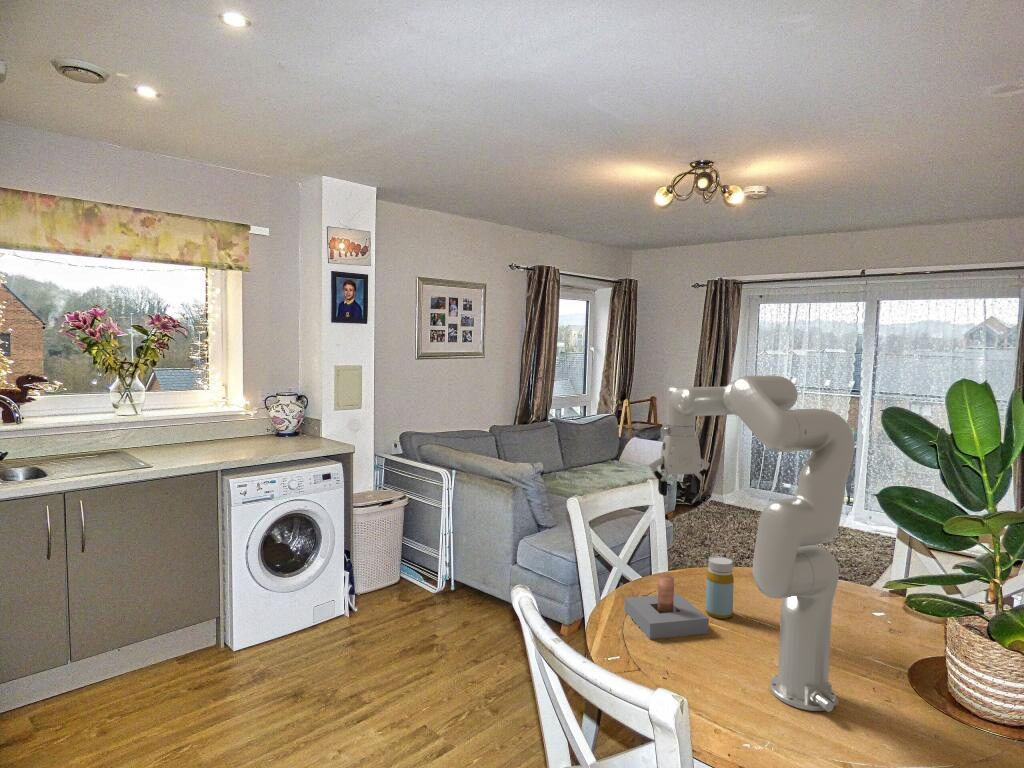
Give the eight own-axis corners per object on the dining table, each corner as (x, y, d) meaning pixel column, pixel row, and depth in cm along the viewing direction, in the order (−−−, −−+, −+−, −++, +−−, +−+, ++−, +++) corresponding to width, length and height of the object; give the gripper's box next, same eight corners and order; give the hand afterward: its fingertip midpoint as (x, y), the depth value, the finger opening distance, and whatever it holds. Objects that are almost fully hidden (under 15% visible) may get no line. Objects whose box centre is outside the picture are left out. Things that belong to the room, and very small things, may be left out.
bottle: (736, 620, 164) (738, 565, 164) (709, 619, 165) (711, 564, 164) (727, 609, 171) (729, 556, 170) (702, 608, 171) (703, 555, 171)
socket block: (708, 633, 156) (708, 618, 156) (649, 639, 153) (650, 623, 153) (678, 607, 172) (678, 593, 172) (624, 612, 168) (624, 598, 168)
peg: (675, 625, 161) (676, 580, 160) (661, 626, 160) (662, 581, 159) (668, 618, 165) (669, 574, 164) (654, 620, 164) (655, 575, 163)
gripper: (657, 434, 161) (656, 498, 162) (716, 432, 165) (715, 495, 166) (645, 430, 168) (643, 492, 169) (702, 429, 172) (700, 489, 173)
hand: (679, 493), depth 168 cm, fingers open, 9 cm apart
